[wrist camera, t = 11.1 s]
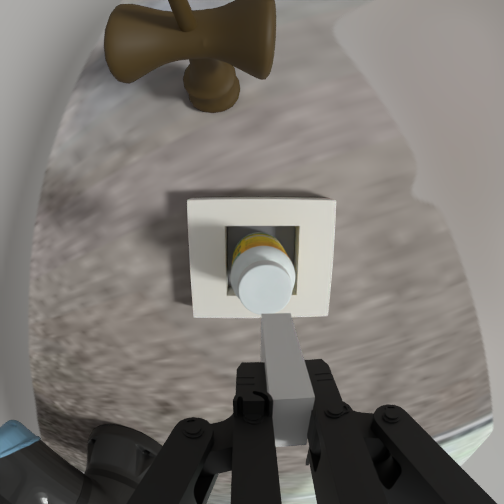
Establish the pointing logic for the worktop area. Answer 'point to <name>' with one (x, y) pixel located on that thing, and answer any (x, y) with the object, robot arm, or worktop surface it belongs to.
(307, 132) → the worktop surface
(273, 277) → the supplement bottle
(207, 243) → the socket block
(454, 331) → the worktop surface
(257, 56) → the kendama
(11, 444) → the robot arm
